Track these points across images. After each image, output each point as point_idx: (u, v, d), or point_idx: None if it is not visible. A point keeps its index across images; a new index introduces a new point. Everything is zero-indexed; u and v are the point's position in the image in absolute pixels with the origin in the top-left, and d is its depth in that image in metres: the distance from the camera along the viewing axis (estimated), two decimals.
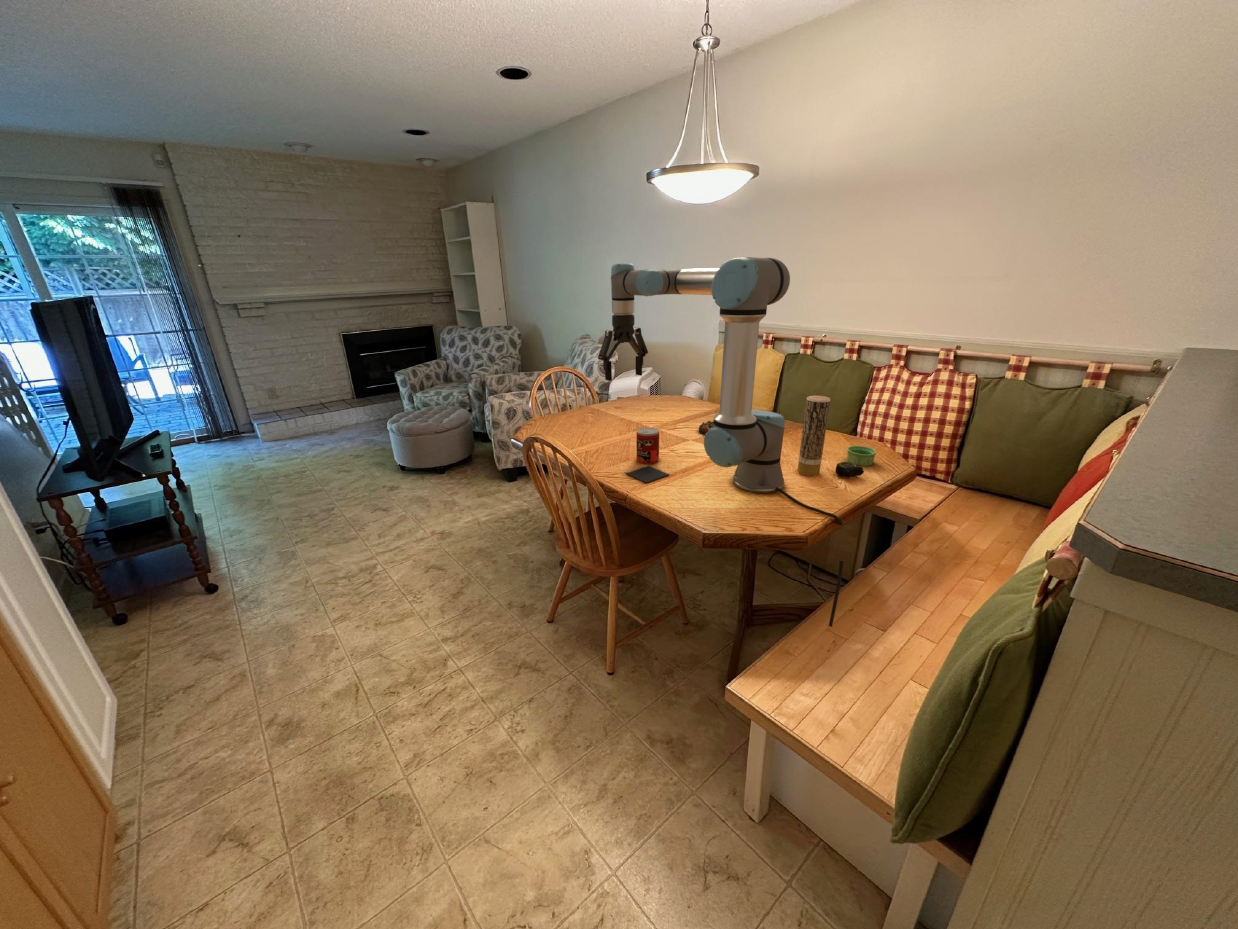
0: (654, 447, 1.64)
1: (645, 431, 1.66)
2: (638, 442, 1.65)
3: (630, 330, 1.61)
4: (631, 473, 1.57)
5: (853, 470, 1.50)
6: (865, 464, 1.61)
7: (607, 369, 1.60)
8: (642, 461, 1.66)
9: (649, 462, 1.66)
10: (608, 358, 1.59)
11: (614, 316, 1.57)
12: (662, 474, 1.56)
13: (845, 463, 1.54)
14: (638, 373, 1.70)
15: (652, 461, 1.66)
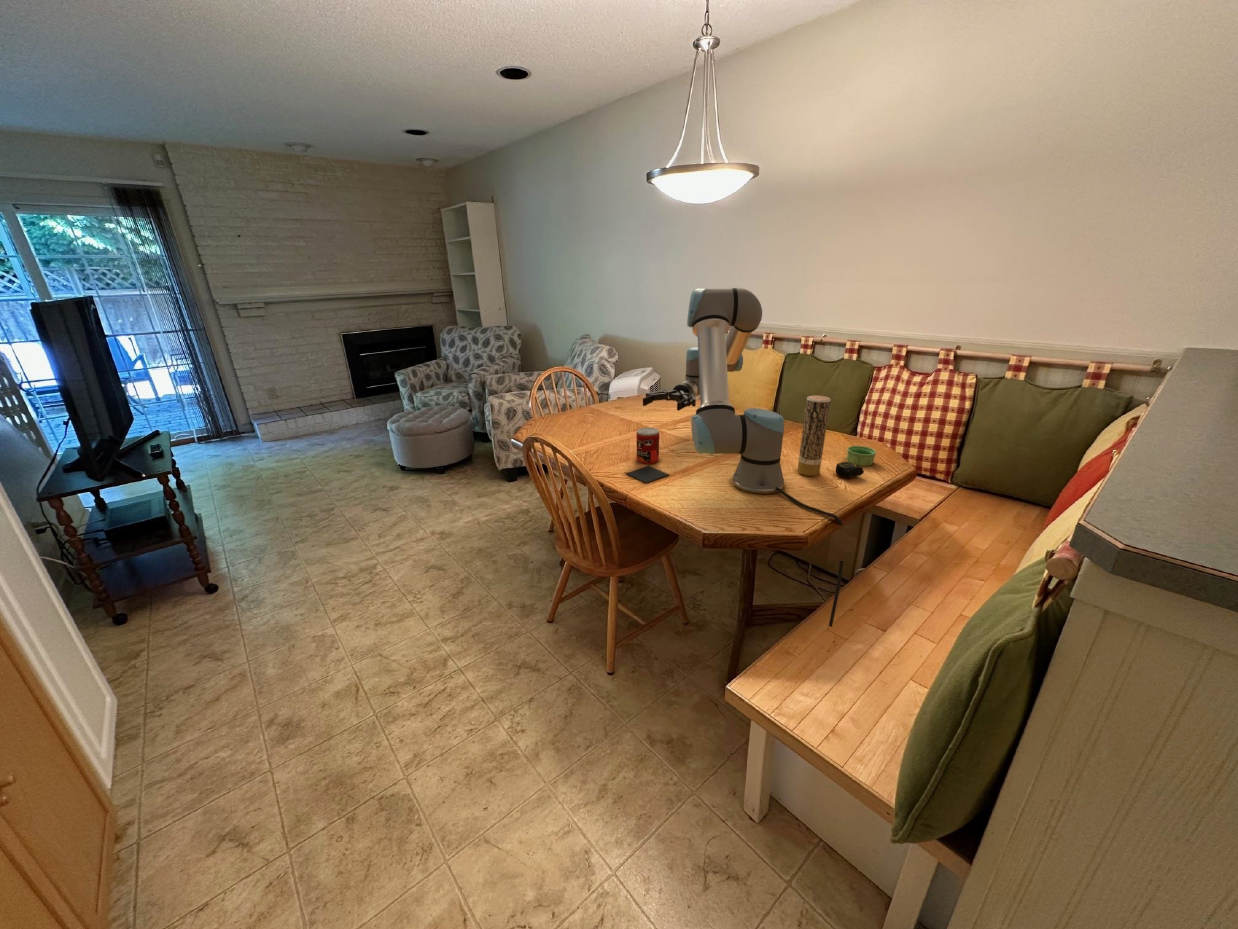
0: (654, 447, 1.64)
1: (645, 431, 1.66)
2: (638, 442, 1.65)
3: (684, 392, 1.81)
4: (631, 473, 1.57)
5: (853, 470, 1.50)
6: (865, 464, 1.61)
7: None
8: (642, 461, 1.66)
9: (649, 462, 1.66)
10: (651, 394, 1.79)
11: None
12: (662, 474, 1.56)
13: (845, 463, 1.54)
14: None
15: (652, 461, 1.66)
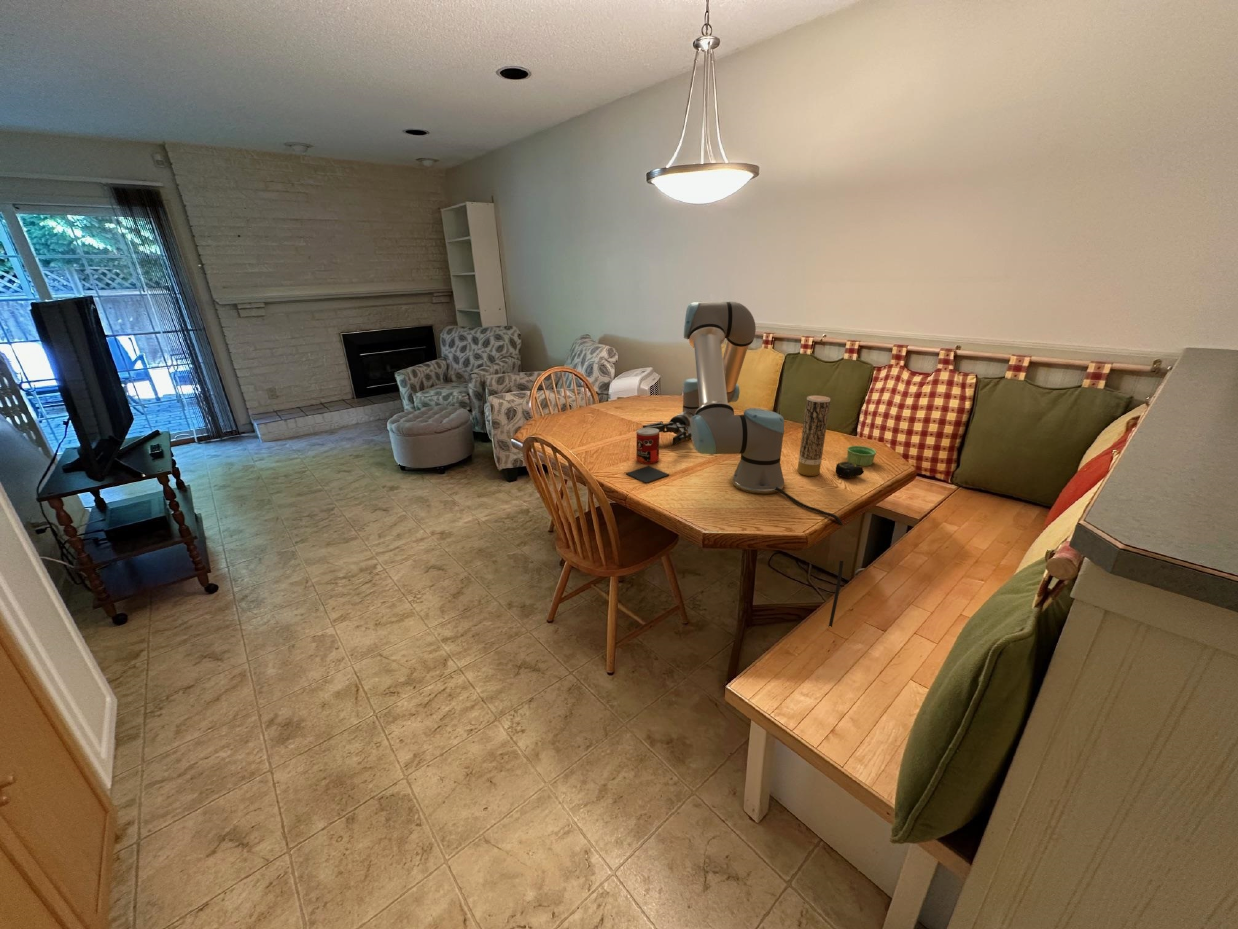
0: (654, 447, 1.64)
1: (645, 431, 1.66)
2: (638, 442, 1.65)
3: (681, 425, 1.83)
4: (631, 473, 1.57)
5: (853, 470, 1.50)
6: (865, 464, 1.61)
7: None
8: (642, 461, 1.66)
9: (649, 462, 1.66)
10: (648, 426, 1.82)
11: None
12: (662, 474, 1.56)
13: (845, 463, 1.54)
14: None
15: (652, 461, 1.66)
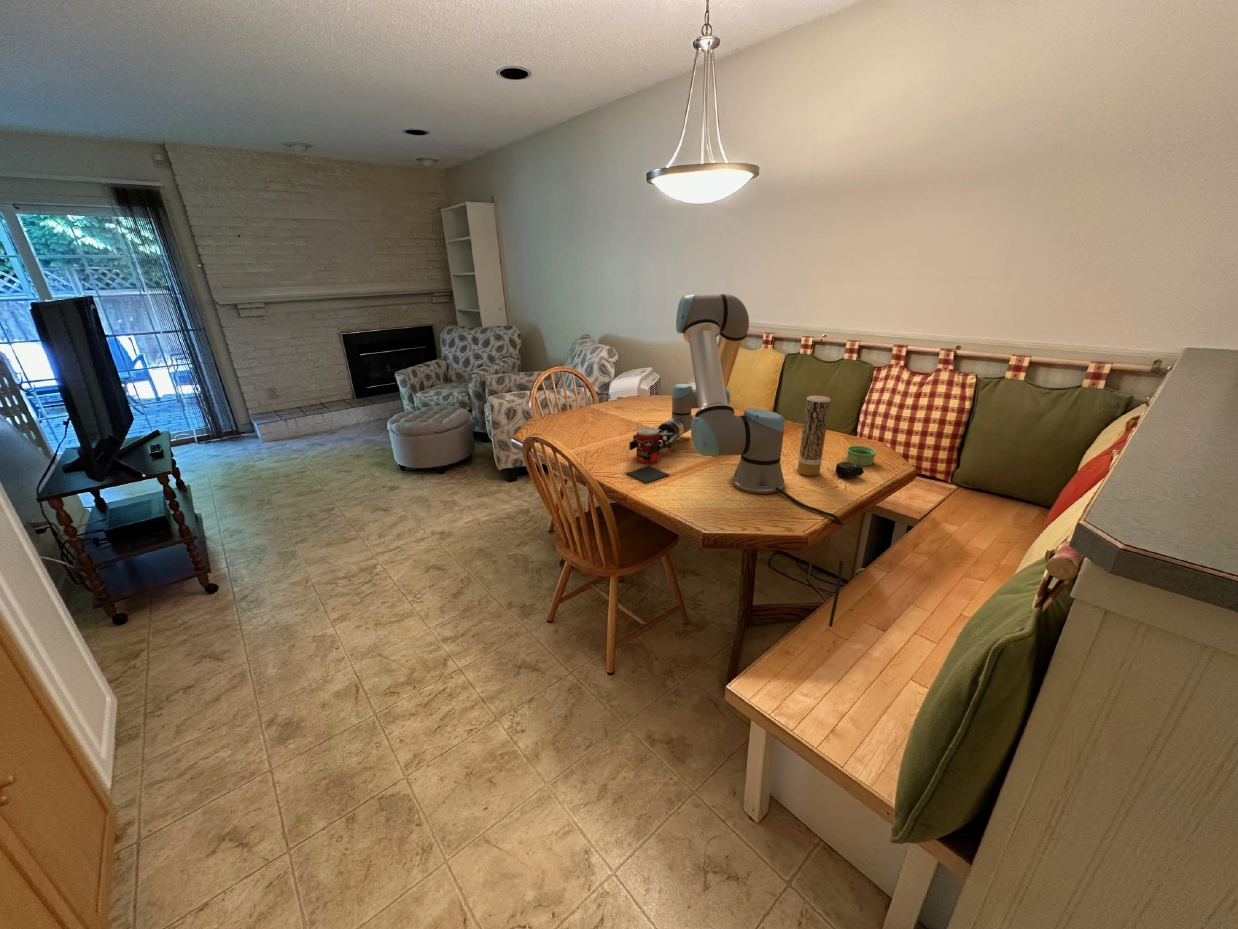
0: None
1: (645, 431, 1.66)
2: (638, 442, 1.65)
3: (669, 432, 1.76)
4: (631, 473, 1.57)
5: (853, 470, 1.50)
6: (865, 464, 1.61)
7: None
8: (642, 461, 1.66)
9: (649, 462, 1.66)
10: None
11: None
12: (662, 474, 1.56)
13: (845, 463, 1.54)
14: None
15: (652, 461, 1.66)
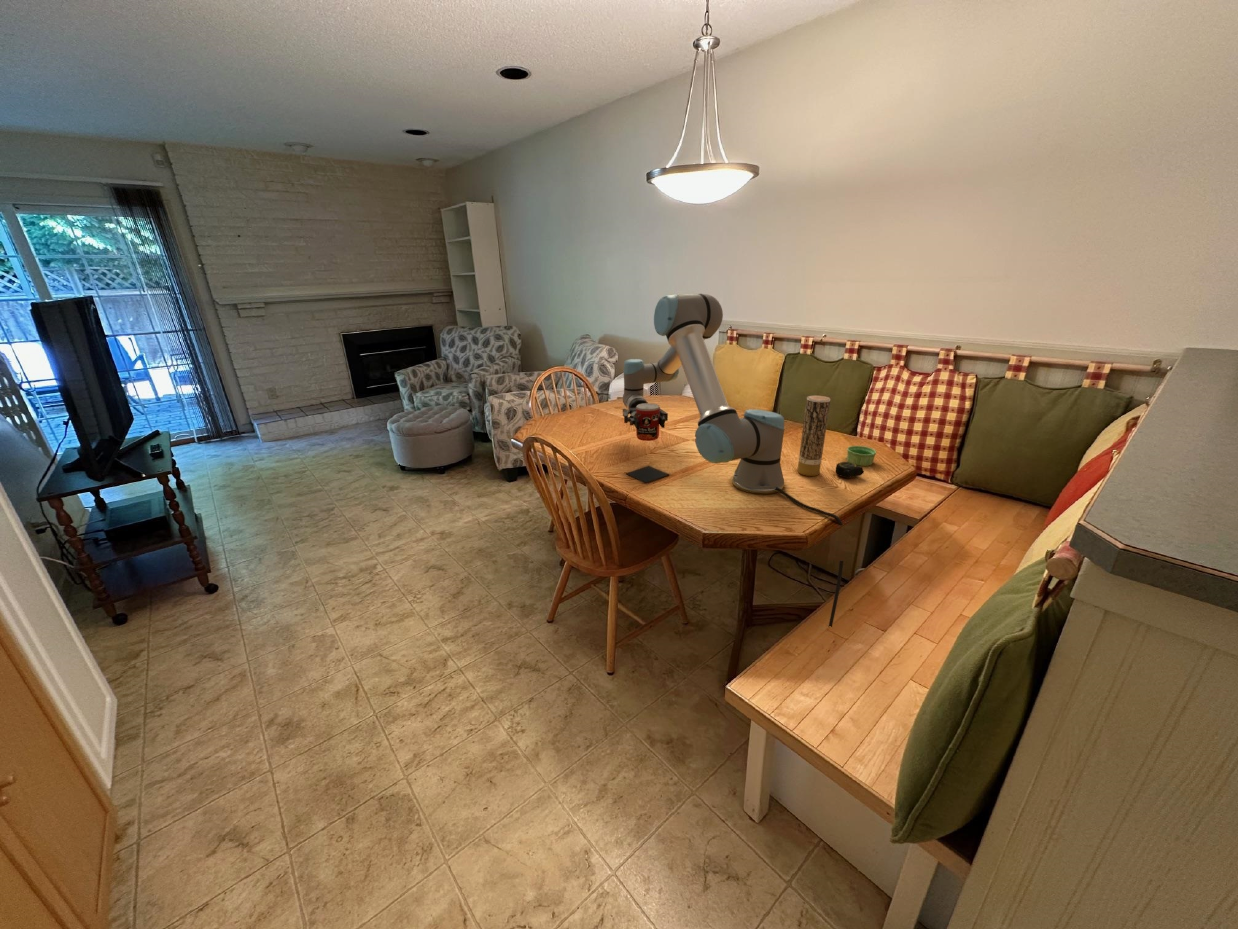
0: (658, 421, 1.59)
1: (645, 407, 1.58)
2: (644, 419, 1.56)
3: None
4: (631, 473, 1.57)
5: (853, 470, 1.50)
6: (865, 464, 1.61)
7: (633, 420, 1.58)
8: (650, 438, 1.58)
9: (656, 438, 1.60)
10: (631, 415, 1.61)
11: None
12: (662, 474, 1.56)
13: (845, 463, 1.54)
14: (661, 422, 1.57)
15: (657, 436, 1.60)
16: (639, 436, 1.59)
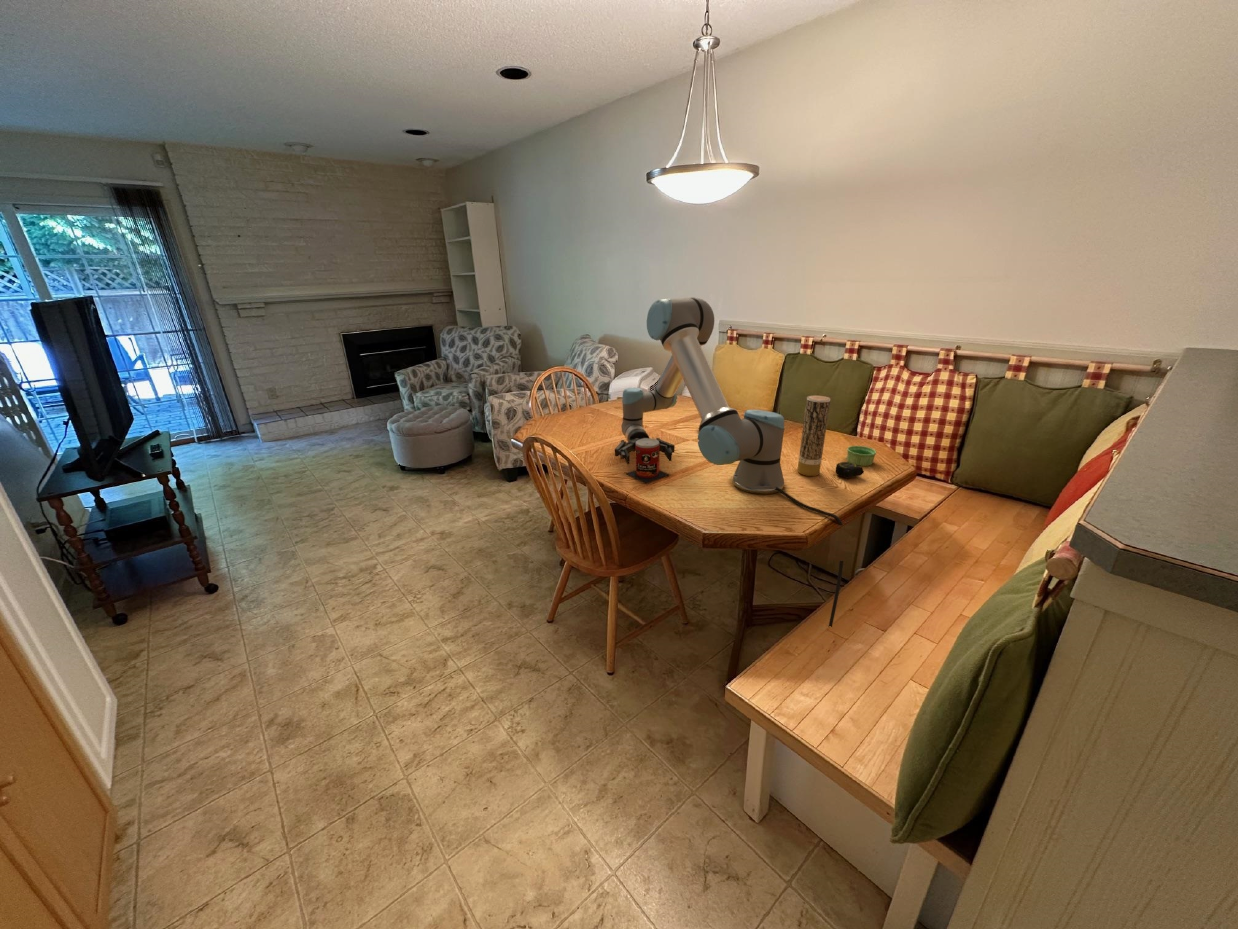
0: (658, 457, 1.53)
1: (645, 443, 1.53)
2: (644, 456, 1.51)
3: None
4: (631, 473, 1.57)
5: (853, 470, 1.50)
6: (865, 464, 1.61)
7: (623, 454, 1.54)
8: (649, 475, 1.53)
9: (656, 475, 1.54)
10: (622, 448, 1.57)
11: None
12: (662, 474, 1.56)
13: (845, 463, 1.54)
14: (668, 455, 1.53)
15: (657, 473, 1.55)
16: (638, 473, 1.54)
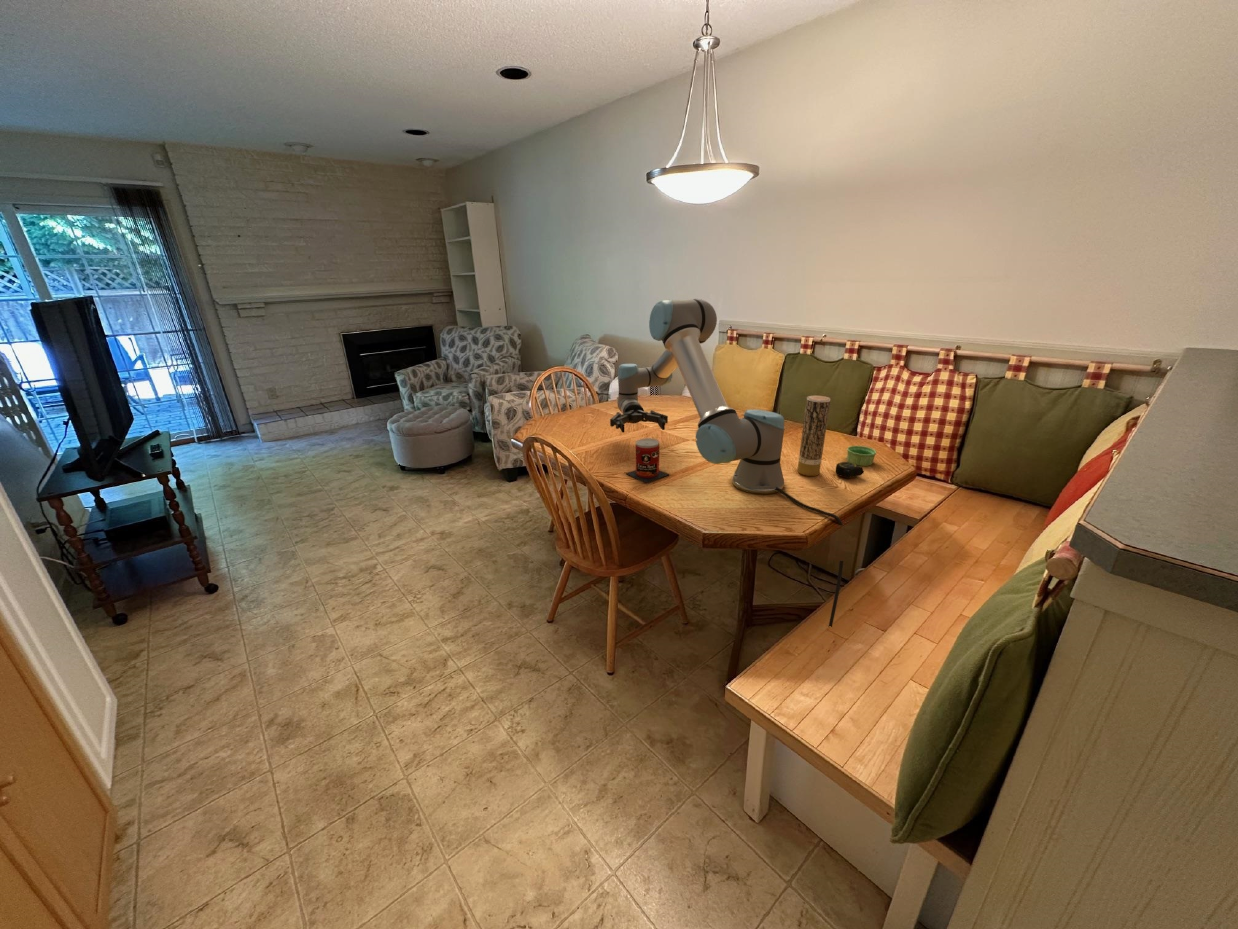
0: (658, 457, 1.53)
1: (645, 443, 1.53)
2: (644, 456, 1.51)
3: None
4: (631, 473, 1.57)
5: (853, 470, 1.50)
6: (865, 464, 1.61)
7: (618, 423, 1.60)
8: (649, 475, 1.53)
9: (656, 475, 1.54)
10: (617, 419, 1.63)
11: None
12: (662, 474, 1.56)
13: (845, 463, 1.54)
14: (662, 424, 1.59)
15: (657, 473, 1.55)
16: (638, 473, 1.54)
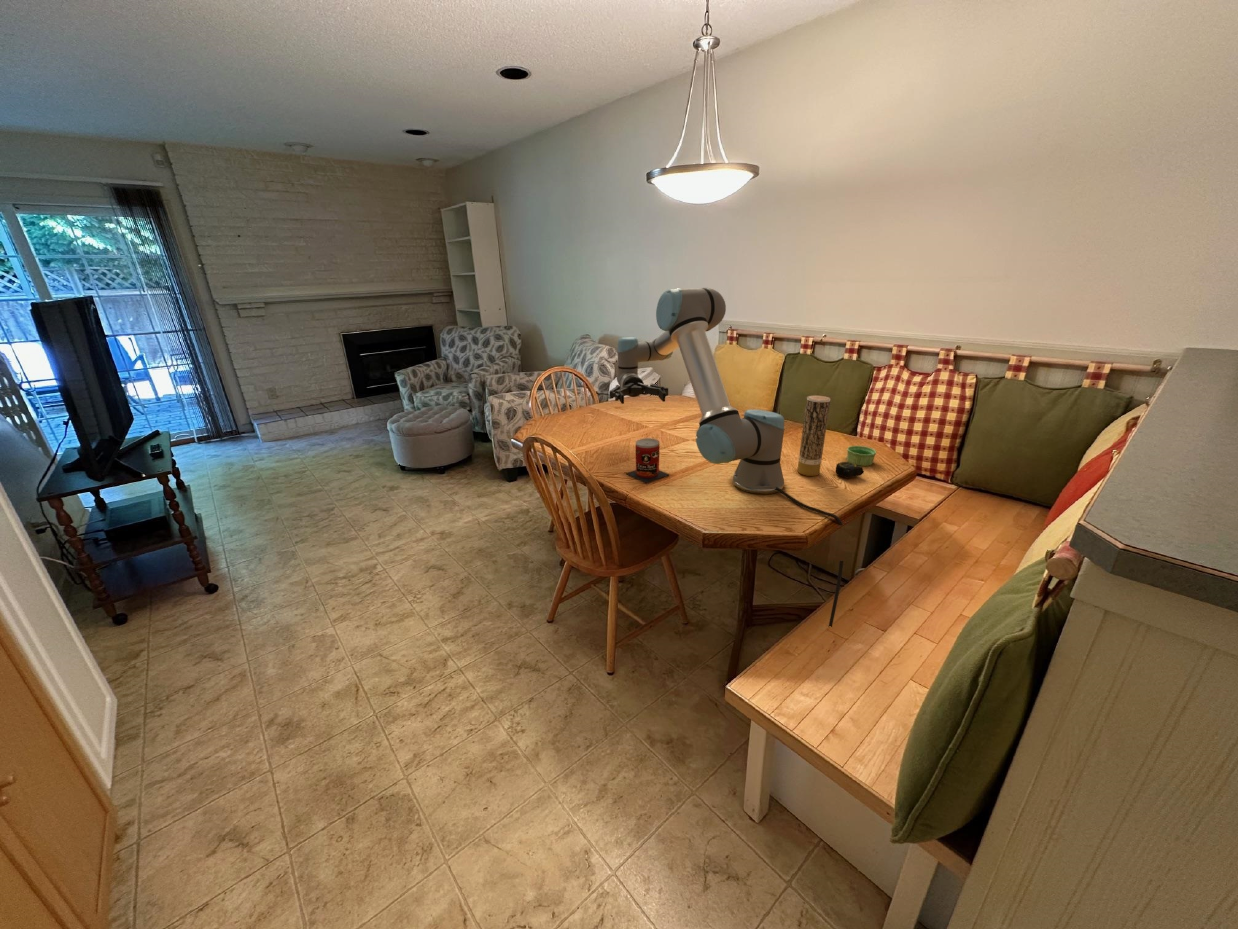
0: (658, 457, 1.53)
1: (645, 443, 1.53)
2: (644, 456, 1.51)
3: None
4: (631, 473, 1.57)
5: (853, 470, 1.50)
6: (865, 464, 1.61)
7: (618, 394, 1.57)
8: (649, 475, 1.53)
9: (656, 475, 1.54)
10: (617, 390, 1.60)
11: None
12: (662, 474, 1.56)
13: (845, 463, 1.54)
14: (662, 396, 1.56)
15: (657, 473, 1.55)
16: (638, 473, 1.54)
